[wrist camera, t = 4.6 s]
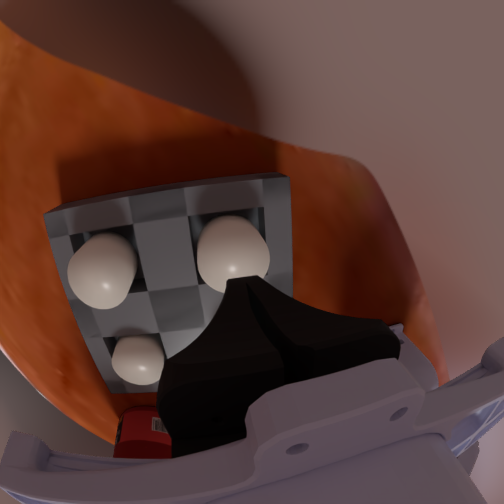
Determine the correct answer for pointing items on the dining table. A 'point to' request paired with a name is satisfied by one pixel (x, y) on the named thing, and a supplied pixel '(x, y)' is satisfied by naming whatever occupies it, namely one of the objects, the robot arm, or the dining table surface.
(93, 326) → the button board
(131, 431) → the canned food
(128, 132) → the dining table surface
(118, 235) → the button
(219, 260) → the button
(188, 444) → the robot arm
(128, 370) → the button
